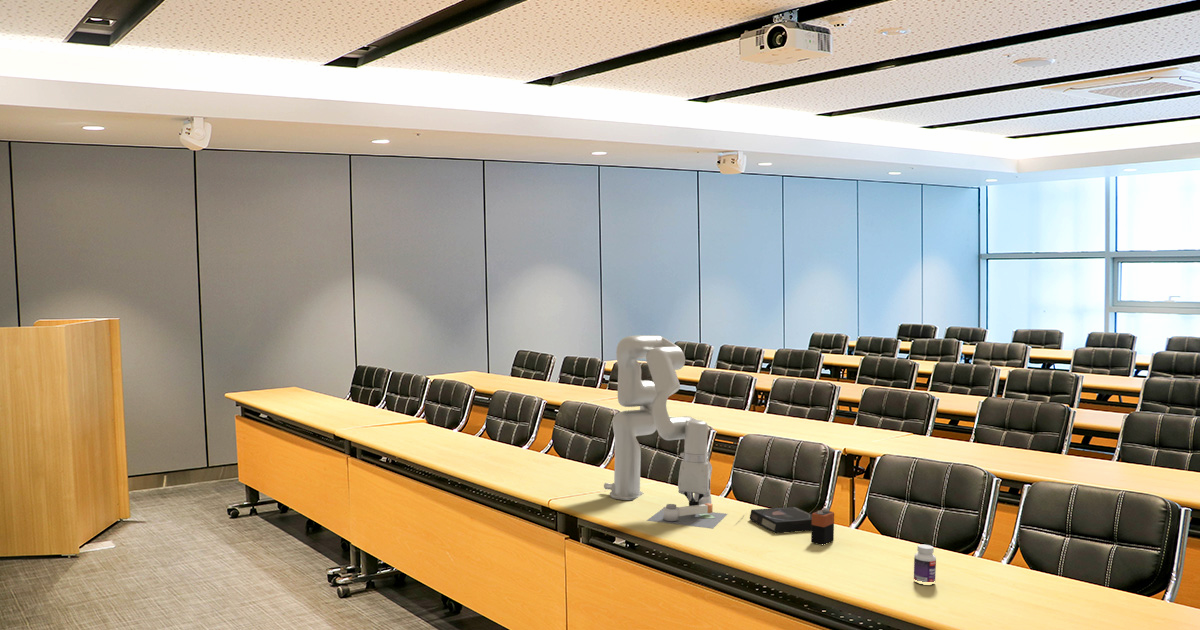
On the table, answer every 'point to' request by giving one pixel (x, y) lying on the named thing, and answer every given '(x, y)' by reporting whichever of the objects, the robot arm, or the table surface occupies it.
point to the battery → (822, 527)
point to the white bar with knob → (684, 511)
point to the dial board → (692, 519)
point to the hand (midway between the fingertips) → (693, 512)
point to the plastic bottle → (708, 499)
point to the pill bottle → (925, 564)
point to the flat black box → (782, 519)
